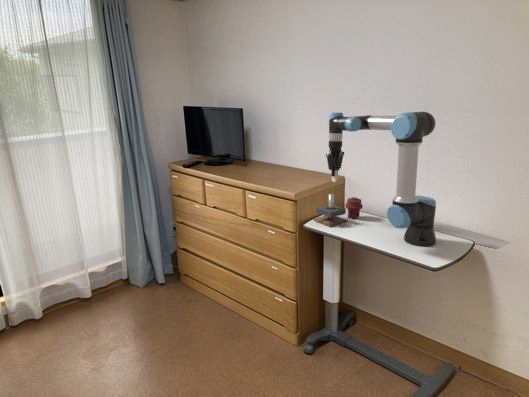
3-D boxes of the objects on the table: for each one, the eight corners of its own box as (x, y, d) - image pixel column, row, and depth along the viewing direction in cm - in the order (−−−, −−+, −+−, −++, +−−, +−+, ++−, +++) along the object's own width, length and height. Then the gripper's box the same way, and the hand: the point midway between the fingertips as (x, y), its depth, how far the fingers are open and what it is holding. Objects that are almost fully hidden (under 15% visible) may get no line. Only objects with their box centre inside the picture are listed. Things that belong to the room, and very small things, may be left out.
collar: (345, 213, 233) (345, 208, 233) (330, 217, 227) (330, 212, 226) (330, 208, 243) (331, 204, 242) (316, 212, 236) (316, 207, 235)
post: (334, 219, 235) (335, 194, 231) (330, 220, 234) (331, 195, 230) (330, 218, 238) (331, 193, 234) (326, 219, 236) (327, 194, 232)
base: (347, 222, 235) (347, 220, 234) (330, 227, 227) (330, 224, 226) (330, 216, 246) (330, 214, 245) (313, 220, 238) (313, 218, 237)
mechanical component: (342, 218, 242) (349, 214, 249) (357, 221, 236) (364, 217, 244) (342, 198, 238) (350, 195, 246) (358, 201, 233) (365, 197, 240)
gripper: (338, 138, 233) (337, 178, 239) (322, 140, 226) (321, 182, 232) (348, 140, 228) (347, 180, 234) (332, 142, 220) (331, 184, 226)
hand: (334, 181), depth 233 cm, fingers closed
